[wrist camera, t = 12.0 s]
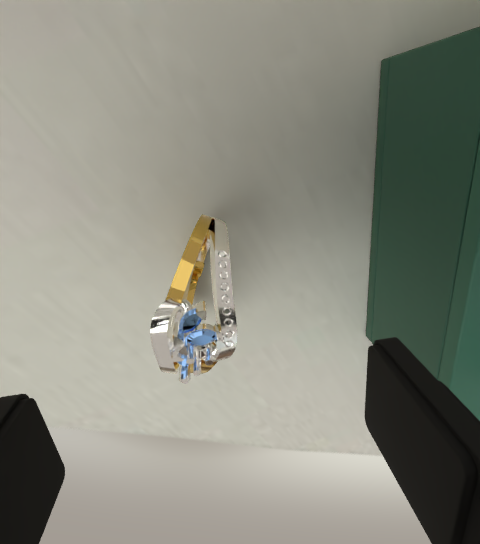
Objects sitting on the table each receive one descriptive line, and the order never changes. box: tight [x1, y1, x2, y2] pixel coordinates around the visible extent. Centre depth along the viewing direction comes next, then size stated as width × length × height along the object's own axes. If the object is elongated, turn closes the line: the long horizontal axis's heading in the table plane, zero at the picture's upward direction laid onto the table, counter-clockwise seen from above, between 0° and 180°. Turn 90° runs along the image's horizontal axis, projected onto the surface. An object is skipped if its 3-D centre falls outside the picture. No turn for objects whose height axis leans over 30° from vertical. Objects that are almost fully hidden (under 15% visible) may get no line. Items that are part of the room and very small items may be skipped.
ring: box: [151, 214, 237, 384], centre depth 15 cm, size 7×3×8 cm, turn 160°
